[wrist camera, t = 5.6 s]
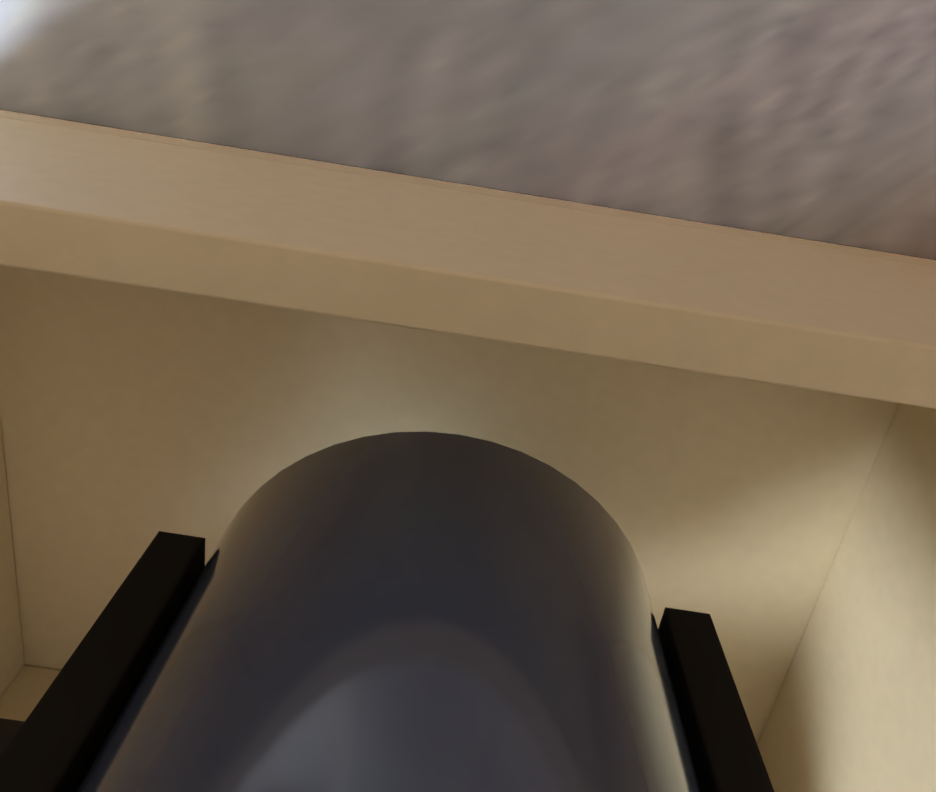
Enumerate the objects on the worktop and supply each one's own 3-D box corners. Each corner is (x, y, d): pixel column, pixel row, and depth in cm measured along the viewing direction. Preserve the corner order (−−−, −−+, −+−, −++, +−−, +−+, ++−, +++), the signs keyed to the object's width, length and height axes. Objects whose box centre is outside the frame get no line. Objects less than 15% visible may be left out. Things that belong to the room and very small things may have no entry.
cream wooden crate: (970, 265, 15) (1254, 396, 10) (760, 762, 21) (862, 1033, 15) (-47, 101, 15) (-391, 140, 9) (13, 661, 20) (-176, 906, 14)
